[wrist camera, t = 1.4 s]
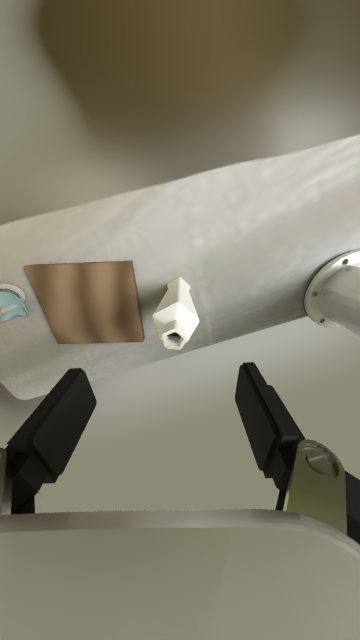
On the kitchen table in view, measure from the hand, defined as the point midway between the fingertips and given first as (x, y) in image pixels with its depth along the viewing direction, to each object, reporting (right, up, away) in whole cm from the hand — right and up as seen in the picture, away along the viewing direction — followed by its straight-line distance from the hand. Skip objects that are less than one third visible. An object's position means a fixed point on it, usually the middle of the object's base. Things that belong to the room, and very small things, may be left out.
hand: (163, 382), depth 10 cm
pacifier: (-28, +8, +19) cm, 35 cm away
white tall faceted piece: (+1, +9, +17) cm, 20 cm away
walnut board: (-14, +7, +19) cm, 24 cm away
